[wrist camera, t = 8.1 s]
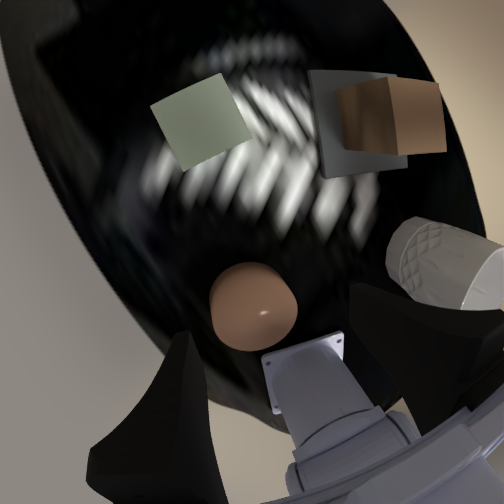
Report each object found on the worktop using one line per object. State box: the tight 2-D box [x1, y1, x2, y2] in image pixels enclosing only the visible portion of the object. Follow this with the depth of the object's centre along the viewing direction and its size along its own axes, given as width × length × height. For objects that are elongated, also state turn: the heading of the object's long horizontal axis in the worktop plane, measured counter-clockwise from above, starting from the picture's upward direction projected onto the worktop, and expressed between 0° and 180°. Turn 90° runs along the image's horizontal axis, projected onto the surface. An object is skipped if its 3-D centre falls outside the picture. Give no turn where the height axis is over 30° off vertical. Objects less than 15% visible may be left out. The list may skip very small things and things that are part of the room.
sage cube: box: [150, 73, 252, 172], centre depth 15 cm, size 4×4×4 cm
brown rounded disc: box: [209, 262, 297, 351], centre depth 21 cm, size 6×6×3 cm
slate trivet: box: [307, 70, 408, 179], centre depth 19 cm, size 8×8×1 cm
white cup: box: [385, 216, 504, 310], centre depth 20 cm, size 8×8×10 cm
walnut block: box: [336, 76, 447, 156], centre depth 16 cm, size 4×4×6 cm
